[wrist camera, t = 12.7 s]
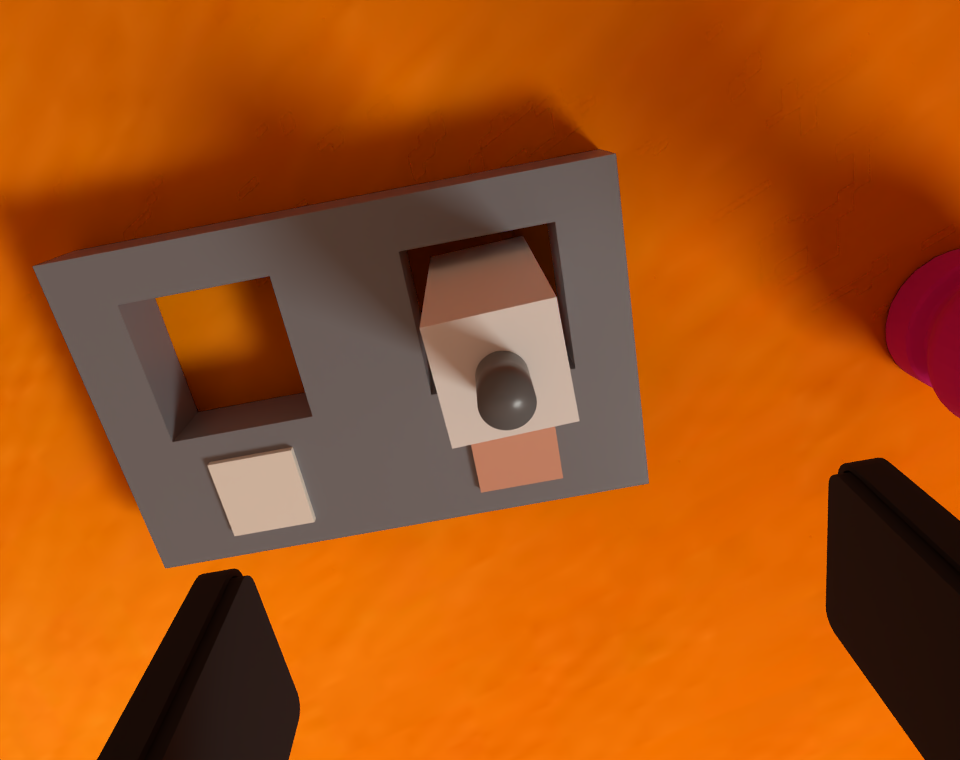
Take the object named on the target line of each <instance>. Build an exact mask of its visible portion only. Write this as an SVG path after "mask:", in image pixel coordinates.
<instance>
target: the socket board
mask: <svg viewBox="0 0 960 760" xmlns="http://www.w3.org/2000/svg"><path fill="white" fill-rule="evenodd" d="M546 223H547V227H548V234H549V241H550V248H551V255H552V262H553V269H554V276H555V283H556V290H557V297H558V304H559V311H560V318H561V324H562V329H563V334H564V340H565V345H566V351H567V356H568V361H569V367H570V372H571V377H572V383H573V388H574V394H575V399H576V404H577V410H578V415H579V420H580V421H578V422H573V423H569V424H564V425H559V426H555V427H550V428H546V429H541V430H536V431H532V432H527V433H523V434H518V435H513V436H509V437H504V438H500V439H495V440H490V441H486V442H481V443H477V444H472V445H467V446H463V447H458V448H454V449H452V446H451V442H450V439H449V435H448V431H447V427H446V424H445V420H444V416H443V413H442V409H441V405H440V402H439V398H438V394H437V391H436V387H435V383H434V380H433V376H432V372H431V369H430V365H429V361H428V357H427V354H426V350H425V346H424V343H423V339H422V335H421V332H420V322H421V312H420V307H419V303H418V298H417V294H416V289H415V285H414V280H413V276H412V271H411V267H410V263H409V258H408V254H407V250H410V249H415V248H420V247H425V246H431V245H436V244H441V243H446V242H452V241H457V240H462V239H467V238H473V237H478V236H483V235H488V234H494V233H499V232H504V231H509V230H515V229H520V228H525V227H530V226H536V225H541V224H546ZM32 267H33V269H34V271H35V273H36V276H37V278H38V280H39V283H40V285H41V287H42V289H43V292H44V294H45V296H46V298H47V301H48V303H49V305H50V308H51V310H52V312H53V314H54V317H55V319H56V321H57V323H58V326H59V328H60V330H61V333H62V335H63V337H64V339H65V342H66V344H67V346H68V348H69V351H70V353H71V355H72V357H73V360H74V362H75V364H76V367H77V369H78V371H79V373H80V376H81V378H82V380H83V382H84V385H85V387H86V389H87V392H88V394H89V396H90V398H91V401H92V403H93V405H94V407H95V410H96V412H97V414H98V417H99V419H100V421H101V423H102V426H103V428H104V430H105V432H106V435H107V437H108V439H109V441H110V444H111V446H112V448H113V451H114V453H115V455H116V457H117V460H118V462H119V464H120V466H121V469H122V471H123V473H124V476H125V478H126V480H127V482H128V485H129V487H130V489H131V491H132V494H133V496H134V498H135V501H136V503H137V505H138V507H139V510H140V512H141V514H142V516H143V519H144V521H145V523H146V525H147V528H148V530H149V532H150V535H151V537H152V539H153V541H154V544H155V546H156V548H157V550H158V553H159V555H160V557H161V560H162V562H163V564H164V566H165V568H170V567H176V566H182V565H188V564H193V563H199V562H205V561H210V560H216V559H222V558H227V557H233V556H239V555H244V554H250V553H256V552H261V551H267V550H273V549H278V548H284V547H290V546H295V545H301V544H307V543H313V542H318V541H324V540H330V539H335V538H341V537H347V536H352V535H358V534H364V533H369V532H375V531H381V530H386V529H392V528H398V527H403V526H409V525H415V524H421V523H426V522H432V521H438V520H443V519H449V518H455V517H460V516H466V515H472V514H477V513H483V512H489V511H494V510H500V509H506V508H511V507H517V506H523V505H529V504H534V503H540V502H546V501H551V500H557V499H563V498H568V497H574V496H580V495H585V494H591V493H597V492H602V491H608V490H614V489H619V488H625V487H631V486H637V485H642V484H648V483H649V480H648V470H647V460H646V450H645V440H644V430H643V420H642V410H641V400H640V390H639V380H638V370H637V360H636V350H635V340H634V330H633V320H632V310H631V300H630V290H629V281H628V271H627V261H626V251H625V241H624V231H623V221H622V211H621V201H620V191H619V181H618V171H617V161H616V154H615V153H612V152H608V151H604V150H600V149H598V150H592V151H587V152H582V153H577V154H572V155H567V156H561V157H556V158H551V159H546V160H541V161H536V162H530V163H525V164H520V165H515V166H510V167H505V168H499V169H494V170H489V171H484V172H479V173H474V174H468V175H463V176H458V177H453V178H448V179H443V180H438V181H432V182H427V183H422V184H417V185H412V186H407V187H401V188H396V189H391V190H386V191H381V192H376V193H370V194H365V195H360V196H355V197H350V198H345V199H339V200H334V201H329V202H324V203H319V204H314V205H308V206H303V207H298V208H293V209H288V210H283V211H277V212H272V213H267V214H262V215H257V216H252V217H247V218H241V219H236V220H231V221H226V222H221V223H216V224H210V225H205V226H200V227H195V228H190V229H185V230H179V231H174V232H169V233H164V234H159V235H154V236H148V237H143V238H138V239H133V240H128V241H123V242H117V243H112V244H107V245H102V246H97V247H92V248H86V249H81V250H76V251H73V252H70V253H67V254H65V255H62V256H59V257H56V258H54V259H51V260H48V261H46V262H43V263H40V264H38V265H35V266H32ZM268 276H270V279H271V282H272V285H273V289H274V292H275V295H276V299H277V302H278V305H279V308H280V312H281V315H282V318H283V321H284V325H285V328H286V331H287V334H288V338H289V341H290V344H291V347H292V351H293V354H294V357H295V361H296V364H297V367H298V370H299V374H300V377H301V380H302V383H303V387H304V390H305V393H299V394H294V395H288V396H283V397H277V398H272V399H267V400H261V401H256V402H250V403H245V404H239V405H234V406H229V407H223V408H218V409H212V410H207V411H201V412H198V411H197V409H196V406H195V403H194V401H193V398H192V395H191V393H190V390H189V387H188V385H187V382H186V379H185V377H184V374H183V371H182V369H181V366H180V363H179V361H178V358H177V356H176V353H175V350H174V348H173V345H172V342H171V340H170V337H169V334H168V332H167V329H166V326H165V324H164V321H163V318H162V316H161V313H160V310H159V308H158V305H157V303H156V300H155V298H157V297H163V296H168V295H173V294H178V293H184V292H189V291H194V290H199V289H205V288H210V287H215V286H220V285H226V284H231V283H236V282H241V281H247V280H252V279H257V278H262V277H268Z"/></svg>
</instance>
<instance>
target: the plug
mask: <svg viewBox="0 0 960 760" xmlns="http://www.w3.org/2000/svg"><path fill="white" fill-rule="evenodd" d="M420 332H421V335H422V339H423V343H424V346H425V350H426V354H427V357H428V361H429V365H430V369H431V372H432V376H433V380H434V383H435V387H436V391H437V394H438V398H439V402H440V405H441V409H442V413H443V416H444V420H445V424H446V427H447V431H448V435H449V439H450V442H451V446H452V449H454V448H458V447H463V446H467V445H472V444H477V443H481V442H486V441H490V440H495V439H500V438H504V437H509V436H513V435H518V434H523V433H527V432H532V431H536V430H541V429H546V428H550V427H555V426H559V425H564V424H569V423H573V422H578V421H580V420H579V415H578V410H577V404H576V399H575V394H574V388H573V383H572V377H571V372H570V367H569V361H568V356H567V351H566V345H565V340H564V334H563V329H562V324H561V318H560V313H559V308H558V302H557V297H556V295H555V293H554V292H553V290H552V288H551V286H550V284H549V282H548V281H547V279H546V277H545V275H544V273H543V271H542V270H541V268H540V266H539V264H538V262H537V261H536V259H535V257H534V255H533V253H532V251H531V250H530V248H529V246H528V244H527V242H526V240H525V239H524V237H523V236H519V237H515V238H510V239H506V240H502V241H497V242H493V243H489V244H484V245H480V246H476V247H471V248H467V249H463V250H459V251H454V252H450V253H446V254H441V255H437V256H433V257H431V258H430V264H429V271H428V277H427V284H426V290H425V296H424V303H423V309H422V316H421V322H420Z"/></svg>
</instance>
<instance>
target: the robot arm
mask: <svg viewBox="0 0 960 760" xmlns="http://www.w3.org/2000/svg"><path fill="white" fill-rule="evenodd" d="M826 612H827V617H828V620H829V623H830V625H831V627H832V629H833V631H834V633H835V634H836V636H837V637H838V638H839V640H840V641H841V643H842V644H843V645H844V647H845V648H846V650H847V651H848V653H849V654H850V655H851V657H852V658H853V660H854V661H855V662H856V664H857V665H858V667H859V668H860V669H861V671H862V672H863V674H864V675H865V676H866V678H867V679H868V681H869V682H870V683H871V685H872V686H873V688H874V689H875V690H876V692H877V693H878V695H879V696H880V697H881V699H882V700H883V702H884V703H885V704H886V706H887V707H888V709H889V710H890V711H891V713H892V714H893V716H894V717H895V718H896V720H897V721H898V723H899V724H900V725H901V727H902V728H903V730H904V731H905V732H906V734H907V735H908V737H909V738H910V740H911V741H912V742H913V744H914V745H915V747H916V748H917V749H918V751H919V752H920V754H921V755H922V756H923V758H924V759H925V760H960V521H959V520H958V519H957V518H956V517H955V516H953V515H952V514H951V513H950V512H949V511H947V510H946V509H945V508H944V507H943V506H941V505H940V504H939V503H938V502H936V501H935V500H934V499H933V498H932V497H930V496H929V495H928V494H927V493H926V492H924V491H923V490H922V489H921V488H920V487H918V486H917V485H916V484H915V483H914V482H912V481H911V480H910V479H909V478H908V477H906V476H905V475H904V474H903V473H902V472H900V471H899V470H898V469H897V468H896V467H894V466H893V465H892V464H891V463H890V462H888V461H887V460H885V459H883V458H874V459H868V460H862V461H856V462H851V463H845V464H843V465H841V466H840V468H839V471H838V474H836V475H832V476H831V477H830V479H829V491H828V535H827V579H826ZM299 715H300V703H299V697H298V693H297V691H296V688H295V685H294V683H293V680H292V678H291V675H290V673H289V670H288V667H287V665H286V662H285V660H284V657H283V655H282V652H281V649H280V647H279V644H278V642H277V639H276V637H275V634H274V631H273V629H272V626H271V624H270V621H269V619H268V616H267V613H266V611H265V608H264V606H263V603H262V601H261V598H260V595H259V593H258V590H257V588H256V585H255V583H254V581H253V579H252V578H251V577H250V576H248V575H247V576H242V574H241V572H240V571H239V570H238V569H229V570H223V571H217V572H211V573H206V574H202V575H199V576H198V577H197V579H196V580H195V582H194V583H193V585H192V587H191V589H190V591H189V593H188V594H187V596H186V598H185V600H184V602H183V604H182V605H181V607H180V609H179V611H178V613H177V615H176V616H175V618H174V620H173V622H172V624H171V626H170V627H169V629H168V631H167V633H166V635H165V636H164V638H163V640H162V642H161V644H160V646H159V647H158V649H157V651H156V653H155V655H154V657H153V658H152V660H151V662H150V664H149V666H148V668H147V669H146V671H145V673H144V675H143V677H142V679H141V680H140V682H139V684H138V686H137V688H136V689H135V691H134V693H133V695H132V697H131V699H130V700H129V702H128V704H127V706H126V708H125V710H124V711H123V713H122V715H121V717H120V719H119V721H118V722H117V724H116V726H115V728H114V730H113V732H112V733H111V735H110V737H109V739H108V741H107V742H106V744H105V746H104V748H103V750H102V752H101V753H100V755H99V757H98V759H97V760H289V756H290V752H291V748H292V744H293V740H294V736H295V732H296V728H297V725H298V721H299Z"/></svg>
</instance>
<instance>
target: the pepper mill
mask: <svg viewBox="0 0 960 760" xmlns="http://www.w3.org/2000/svg"><path fill="white" fill-rule="evenodd" d="M886 342H887V347H888V350H889V352H890V354H891V356H892V358H893V359H894V361H895V363H896V364H897V365H898V366H899V367H900V368H901V369H902V370H904V371H905V372H906V373H908V374H909V375H911V376H913V377H915V378H916V379H918V380H920V381H921V382H923V383H925V384H927V385H928V386H930V387H932V388H933V389H934V391H935V393H936V395H937V396H938V398H939V400H940V401H941V402H942V403H943V404H944V405H945V406H946V407H947V408H948V409H949V411H951V412H952V413H953V414H954V415H956V416H957V417H959V418H960V249H957V250H953V251H949V252H947V253H944V254H942V255H940V256H937V257H935V258H933V259H932V260H930V261H929V262H928V263H926V264H925V265H923V266H922V267H920V268H919V269H917V270H916V271H915V272H914V273H913V274H912V275H911V276H910V277H909V278H908V279H907V281H906V282H905V283H904V284H903V285H902V286H901V288H900V289H899V291H898V293H897V295H896V296H895V298H894V300H893V302H892V303H891V306H890V309H889V313H888V317H887V321H886Z"/></svg>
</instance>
